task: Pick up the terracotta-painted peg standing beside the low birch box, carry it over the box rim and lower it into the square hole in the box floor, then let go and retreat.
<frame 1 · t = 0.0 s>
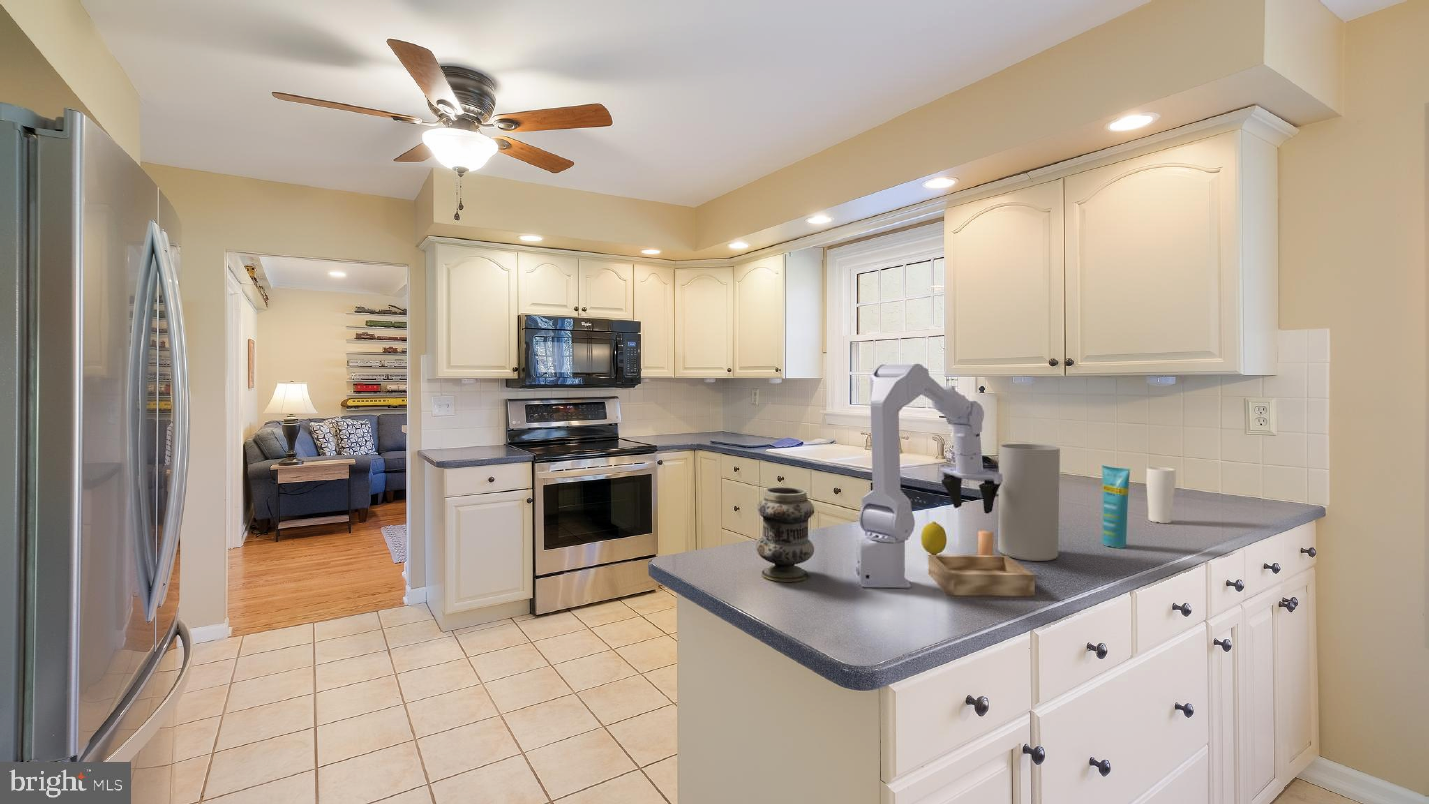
hand: (972, 509, 149), 11 cm above the table, tool pointing down, fingers open, 7 cm apart
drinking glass: (1159, 522, 181), on the table
box: (978, 584, 128), on the table
apothecary jar: (785, 576, 135), on the table
peg: (985, 569, 138), on the table
lemon: (933, 557, 148), on the table
cylinder vase: (1027, 555, 149), on the table
tube: (1114, 546, 156), on the table
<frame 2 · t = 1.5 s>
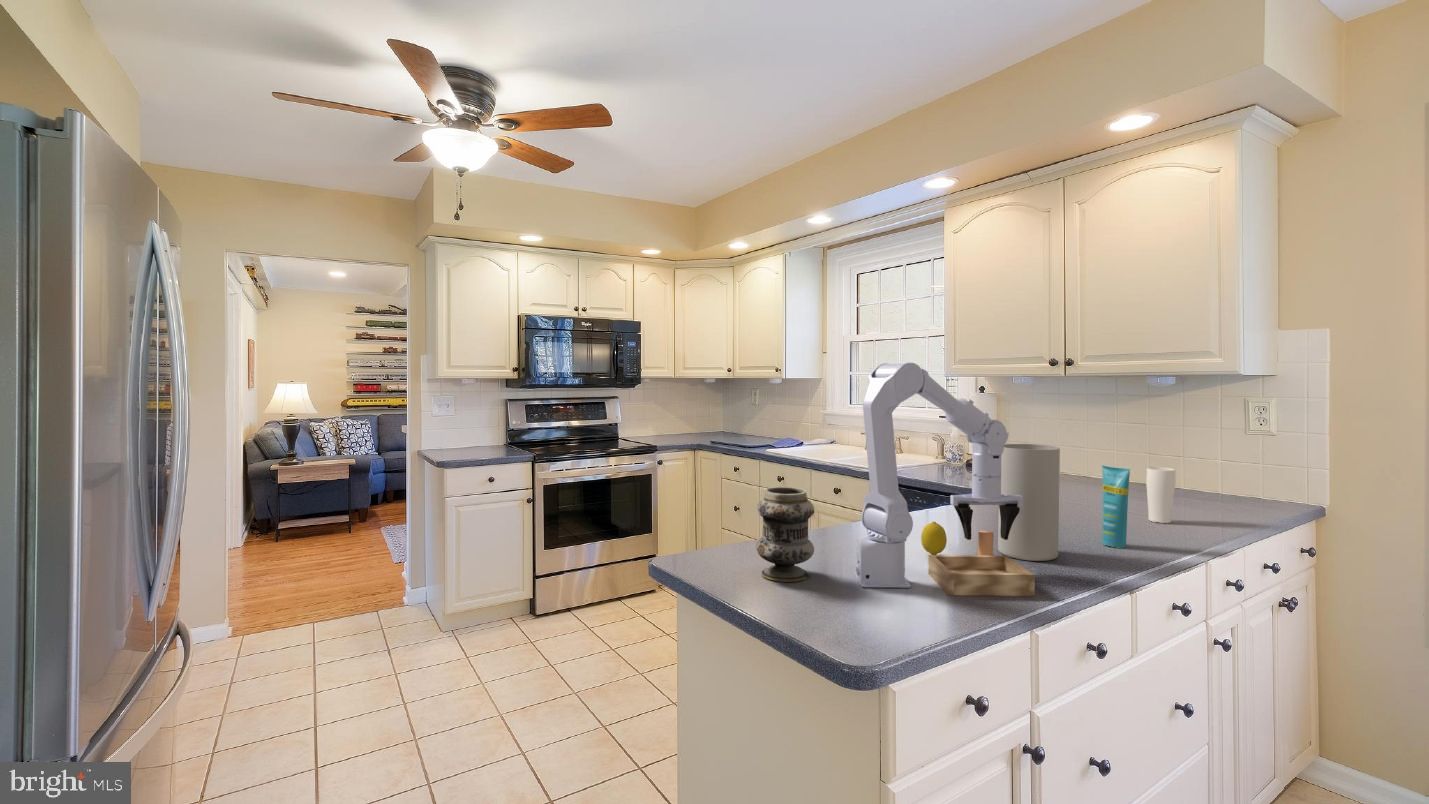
hand: (986, 538, 138), 7 cm above the table, tool pointing down, fingers open, 7 cm apart
nothing on the table moved.
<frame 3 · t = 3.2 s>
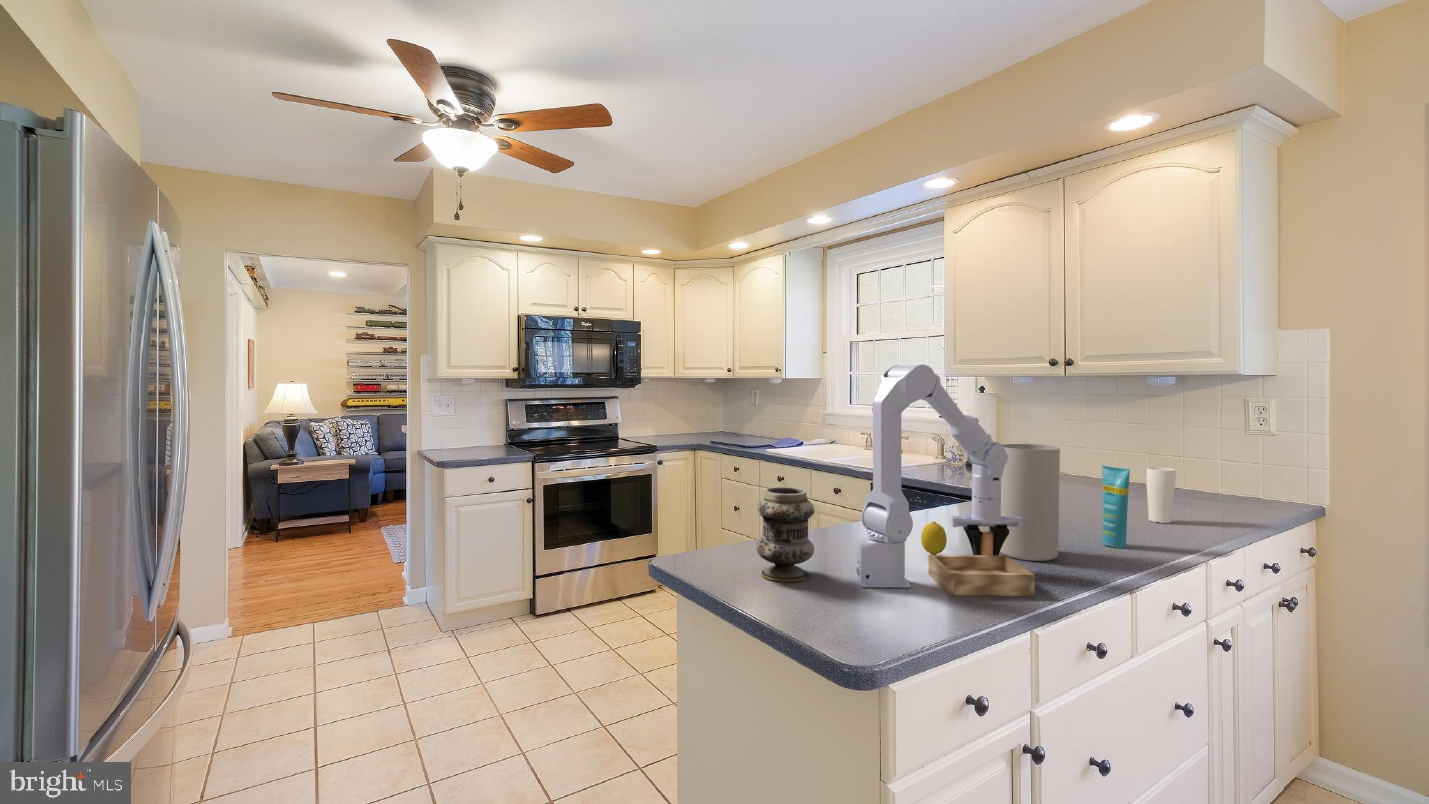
hand: (985, 560, 138), 2 cm above the table, tool pointing down, fingers closed on peg, 3 cm apart
peg: (985, 569, 138), on the table, touching gripper
everything else where it was.
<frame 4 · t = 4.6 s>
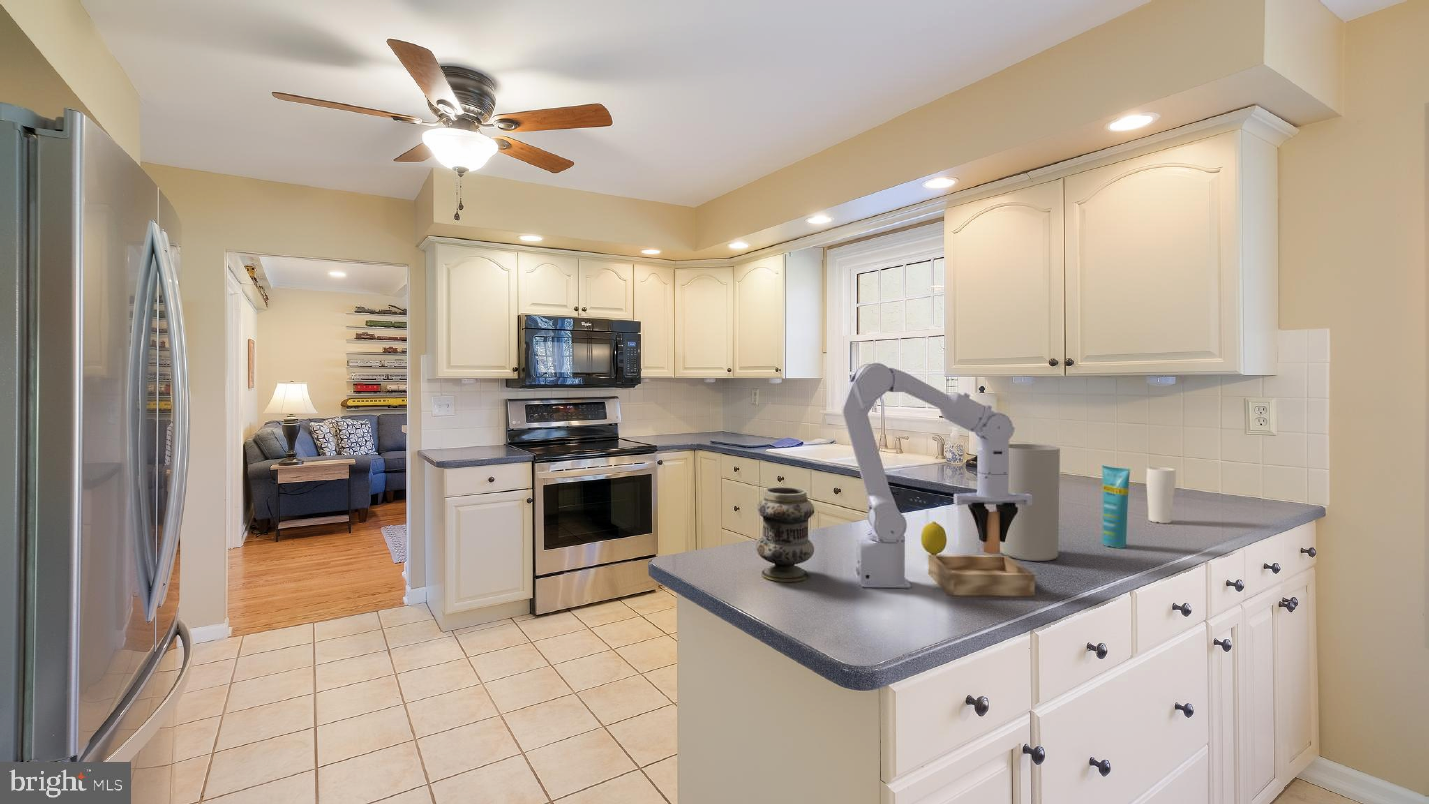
hand: (992, 540, 128), 9 cm above the table, tool pointing down, fingers closed on peg, 3 cm apart
peg: (991, 552, 128), point 6 cm above the table, touching gripper
everything else where it was.
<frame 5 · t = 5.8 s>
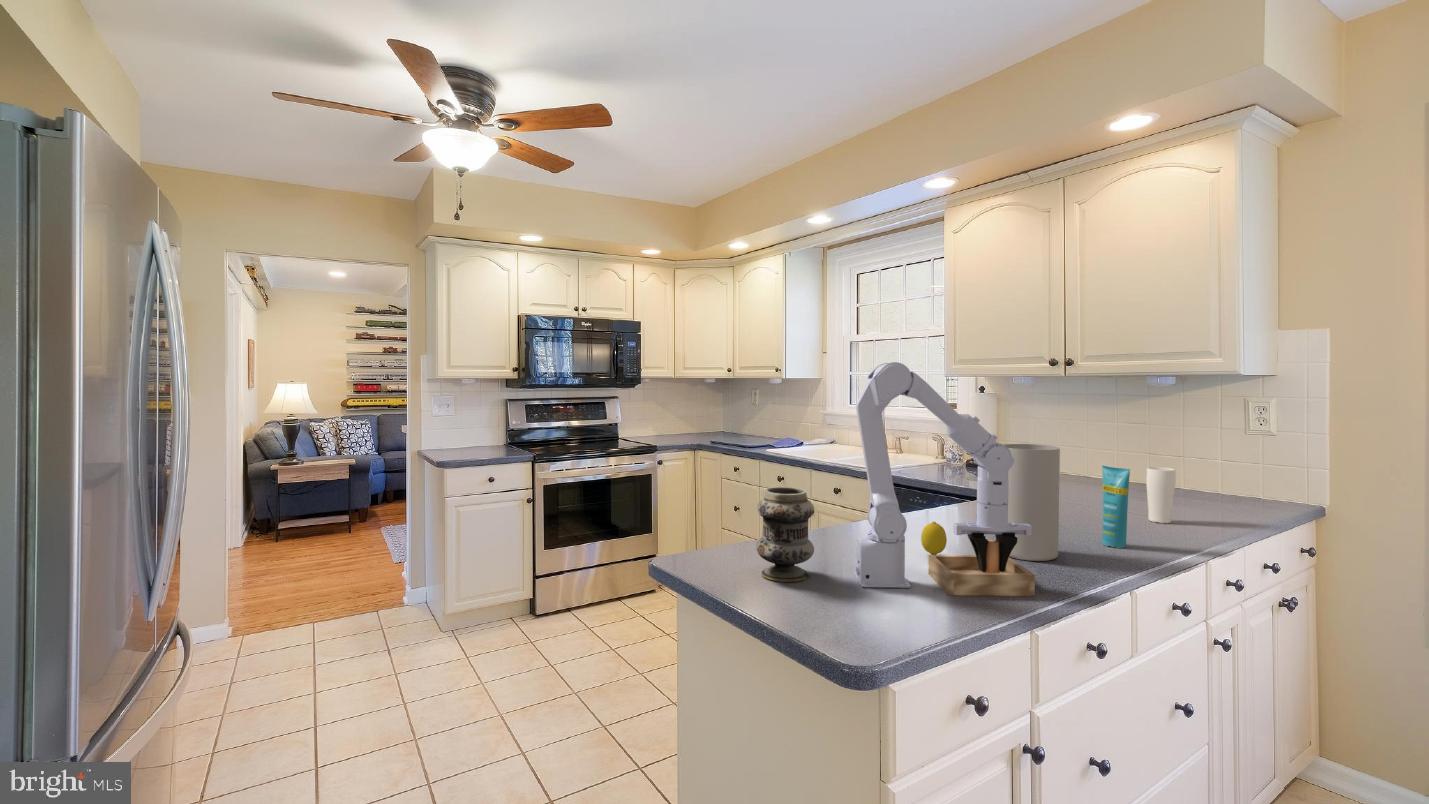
hand: (991, 570, 128), 3 cm above the table, tool pointing down, fingers closed on peg, 3 cm apart
peg: (991, 581, 128), point 1 cm above the table, touching gripper
everything else where it was.
when the fingers open (3 cm above the table, at t = 6.2 s): peg stays where it is, resting in box.
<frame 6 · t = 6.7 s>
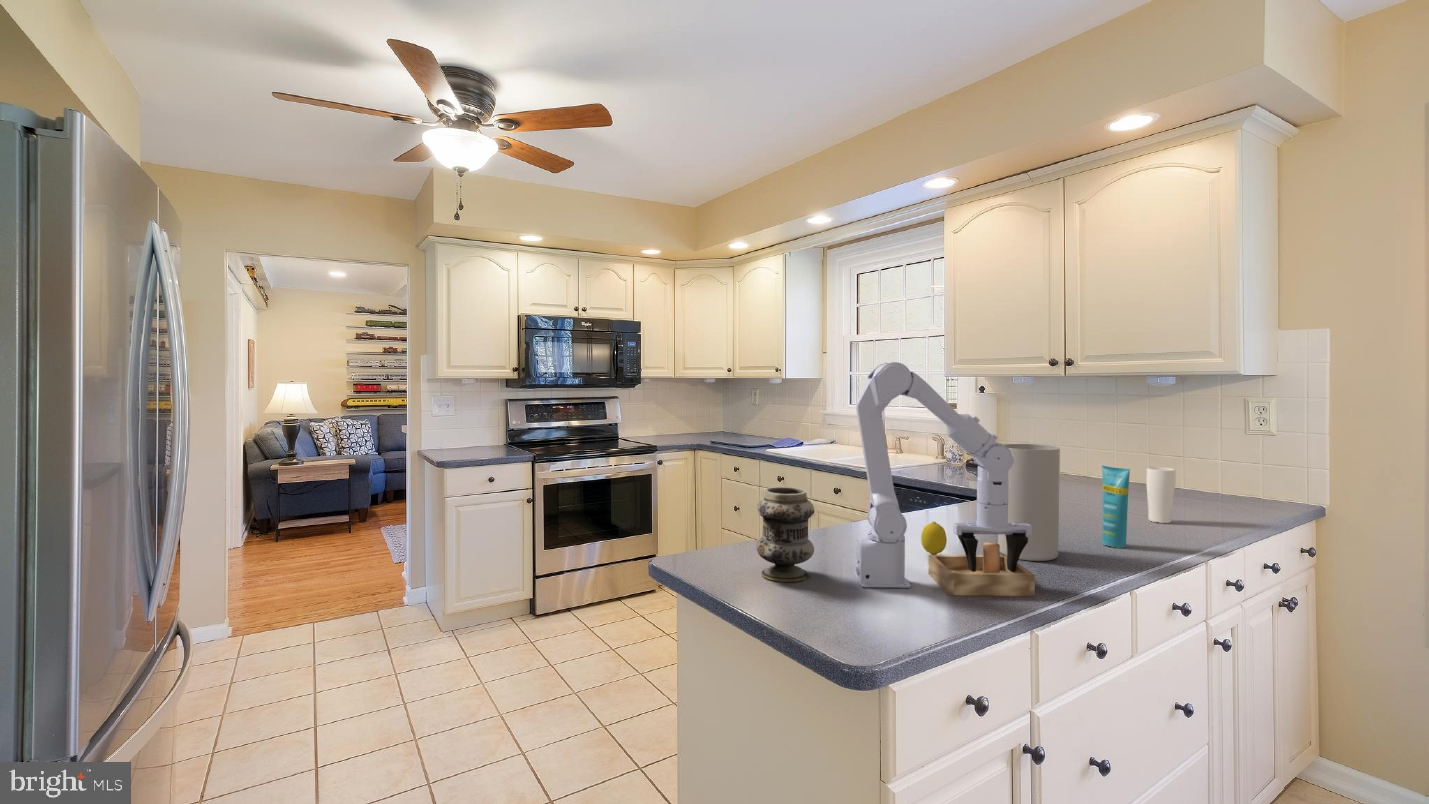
hand: (991, 570, 128), 3 cm above the table, tool pointing down, fingers open, 7 cm apart
peg: (991, 584, 128), resting in box
everything else where it was.
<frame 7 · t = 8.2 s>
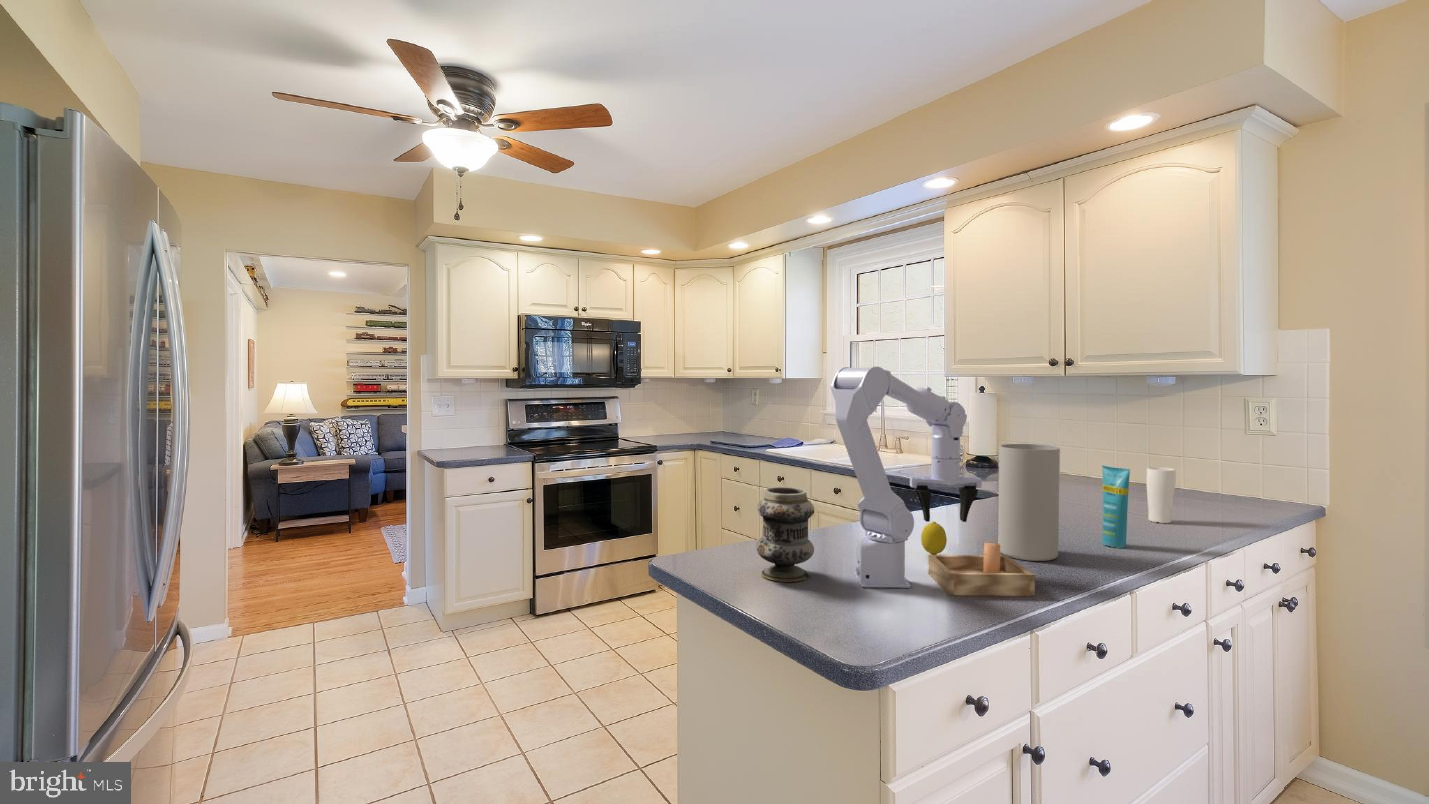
hand: (944, 520, 138), 10 cm above the table, tool pointing down, fingers open, 7 cm apart
nothing on the table moved.
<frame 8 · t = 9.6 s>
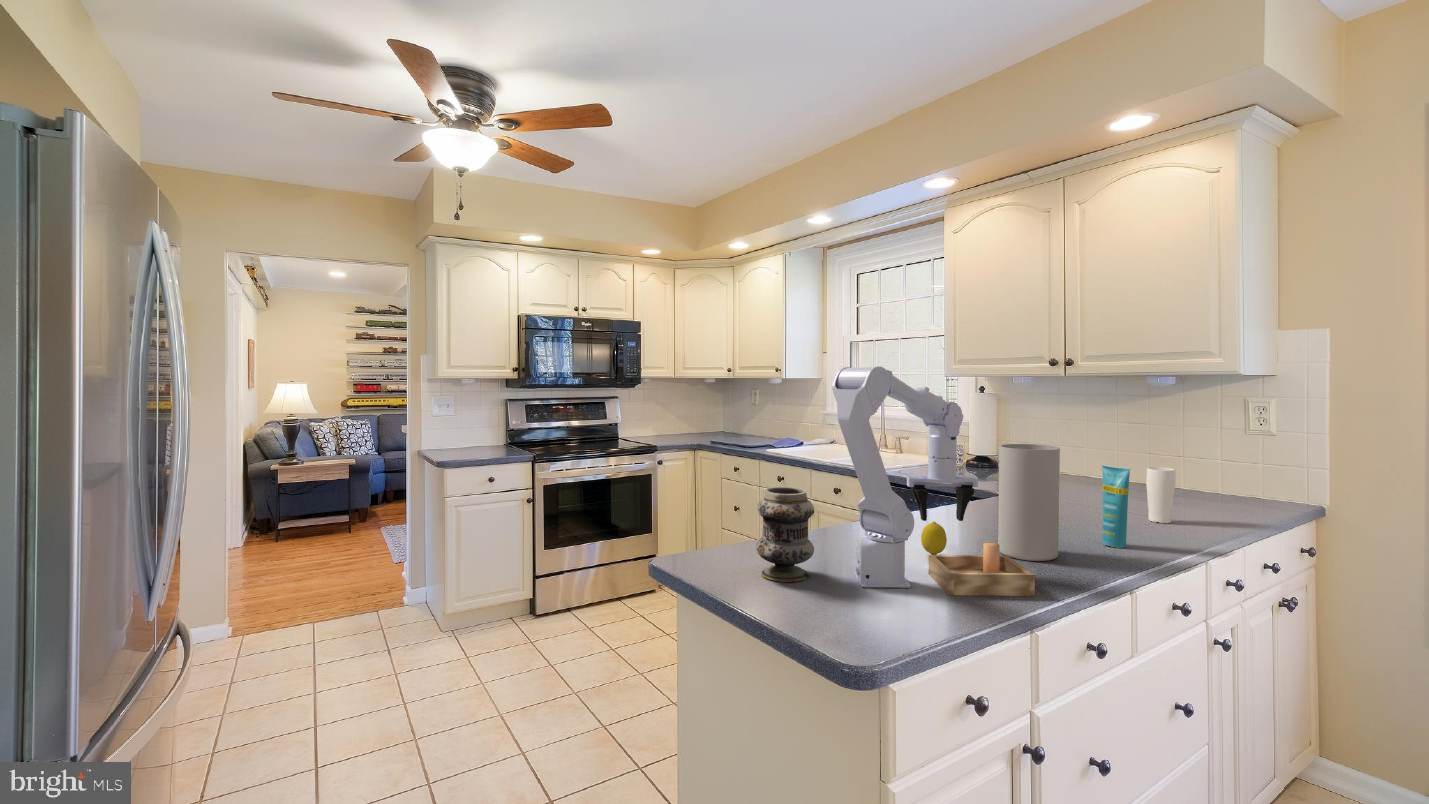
hand: (941, 519, 139), 10 cm above the table, tool pointing down, fingers open, 7 cm apart
nothing on the table moved.
at the end: peg 0.1 cm from the target spot on the box, point 0.0 cm above the box's base; peg tilted 1°; the gripper is holding nothing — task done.
